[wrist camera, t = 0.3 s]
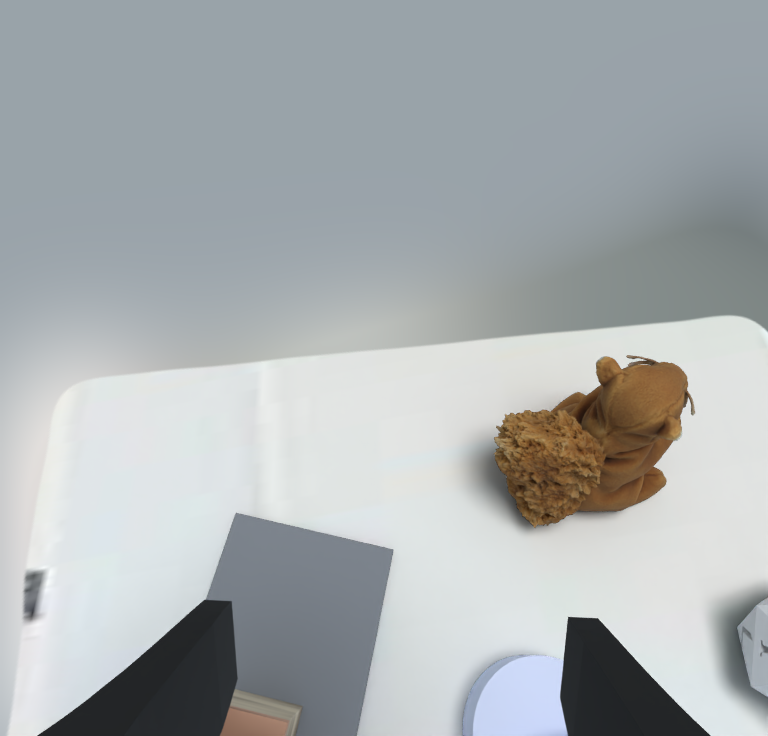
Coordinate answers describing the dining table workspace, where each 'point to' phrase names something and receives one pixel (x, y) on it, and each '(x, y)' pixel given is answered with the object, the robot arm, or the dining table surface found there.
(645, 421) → the brown furry figure
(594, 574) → the dining table surface
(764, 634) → the die
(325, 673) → the rubber mat
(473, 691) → the wedge on round base
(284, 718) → the maple block
